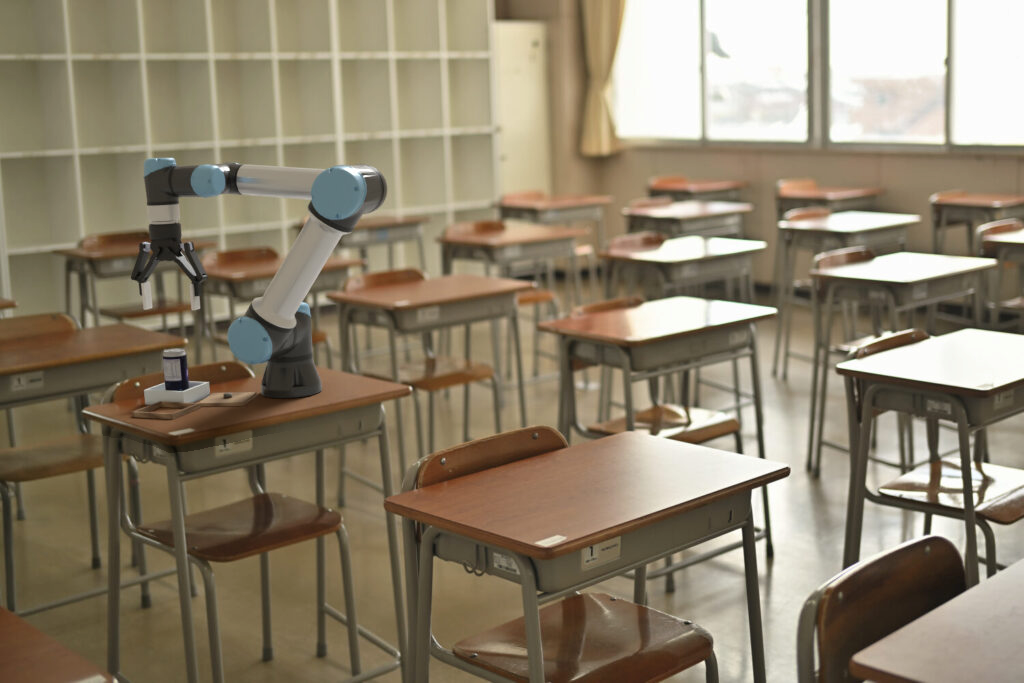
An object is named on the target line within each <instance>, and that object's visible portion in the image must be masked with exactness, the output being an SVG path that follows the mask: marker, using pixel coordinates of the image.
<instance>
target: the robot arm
mask: <svg viewBox="0 0 1024 683" xmlns="http://www.w3.org/2000/svg"><path fill="white" fill-rule="evenodd" d="M143 180H144V187H145V195H146V198H145V199H146V212H147V221H148V223H149V225H148V233H149V234H148V237H149V239H150V242H148V241H143V242H140V243H139V244H138V246H139V247H138V249H139V250H138V251H139V252H138V253H137V254H138V255H137V257H136V260H135V264H134V266H133V269H132V272H131V275H130V279H131V280H132V281H135V282H137V283H138V288H139V290H138V291H139V295H140V297H142V306H143V308H142V309H143V310H147V311H148V310H151V309H153V297H152V286H151V281H149V279H150V277H151V275H152V273H153V272H154V271H155V269H156V267H157V266H158V265H159V263H160V262H165V261H166V262H172V261H173V262H174V263H175V264H177V265H178V266H179V268H180V269H181V270H182V272H183V273H185V275H186V276H187V277H188V279H189V280H190V281H191V282H190V283H189V296H190V297H189V298H190V306H191V307H190V308H191V311H197V310H200V309H201V300H200V299H201V298H200V296H202V295H203V292H202V282H204V281H206V280H208V279H209V275H208V273H207V272H206V270H205V268H204V266H203V263H202V261H201V260H200V258H199V256H198V254H197V252H196V250H195V244H194V242H193V241H188V242H184V243H183V242H182V237H183V235H182V224H181V223H180V220H181V214H180V212H181V210H180V202H179V201H180V198H205V199H207V198H212V197H219V196H220V195H237V196H238V195H239V196H253V197H254V196H255V197H256V196H257V197H268V198H283V199H293V200H294V199H295V200H308V201H309V200H310V202H309V203H308V205H307V210H308V214H309V217H308V218H307V220H306V222H305V223H304V225H303V227H302V229H301V230H300V232H299V234H298V236H296V238H295V240H294V242H293V244H292V245H291V248H290V249H289V250H288V252H287V254H286V256H285V258H284V259H283V261H282V263H281V265H280V266H279V268H278V270H277V271H276V273H275V274H274V276H273V278H272V280H271V282H270V283H269V284H268V286H267V288H266V290H265V291H264V293H263V295H262V296H260V297H254V299H253V300H252V301H251V303H250V304H249V306H248V307H247V310H246V311H245V312H244V314H243V316H240V317H238V318H236V319H235V320H234V321H233V322H231V324H229V325H230V326H229V327H228V330H227V333H226V334H227V336H226V338H227V343H228V346H229V349H230V352H231V353H232V354H233V356H234V357H235V358H237V359H238V361H240V362H242V363H244V364H246V365H251V366H252V365H258V364H265V367H264V372H263V374H262V375H263V376H262V379H261V384H260V395H261V396H264V397H265V398H266V397H267V398H272V399H273V398H276V399H292V398H294V399H295V398H301V397H302V398H303V397H309V396H312V395H316V394H318V393H320V392H322V390H323V386H322V385H323V383H322V379H321V377H320V374H319V371H318V369H317V367H316V364H315V362H314V353H313V336H312V335H313V334H312V333H313V331H312V315H311V309H310V305H309V304H308V303H307V302H304V300H305V298H306V296H307V295H308V293H309V291H310V290H311V288H312V286H313V285H314V283H315V281H316V279H317V278H318V276H319V275H320V273H321V271H322V270H323V268H324V266H325V264H326V263H327V261H328V259H329V258H330V257H331V255H332V253H333V251H334V249H335V248H336V246H337V245H338V243H339V241H340V240H341V238H342V236H344V235H349V234H352V233H353V231H354V229H355V228H356V226H357V224H358V222H359V221H360V219H361V218H362V216H363V215H368V214H371V213H373V212H375V211H376V210H379V209H380V208H381V206H382V205H383V204H384V203H385V201H386V198H387V197H388V196H387V195H388V185H387V184H388V183H387V180H386V178H385V176H384V175H383V173H382V172H381V171H380V170H379V169H378V168H376V167H374V166H373V165H370V164H366V163H364V164H363V163H360V164H351V165H346V164H339V165H334V166H331V167H329V168H326V169H324V168H311V167H310V168H309V167H295V166H277V165H274V166H273V165H263V164H261V165H260V164H259V165H257V164H242V163H241V164H240V163H238V162H224V163H223V162H222V163H209V164H195V165H194V164H193V165H192V164H191V165H177V162H176V159H175V158H174V157H155V158H153V157H152V158H151V157H150V158H146V159H145V160H144V162H143ZM150 251H151V252H152V254H151V255H150ZM182 251H183V252H184V253H185V255H186V256H185V255H184V254H183V252H182ZM149 255H150V257H149ZM148 257H149V260H148ZM186 258H187V259H188V260H187V259H186ZM147 260H148V262H147Z"/></svg>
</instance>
